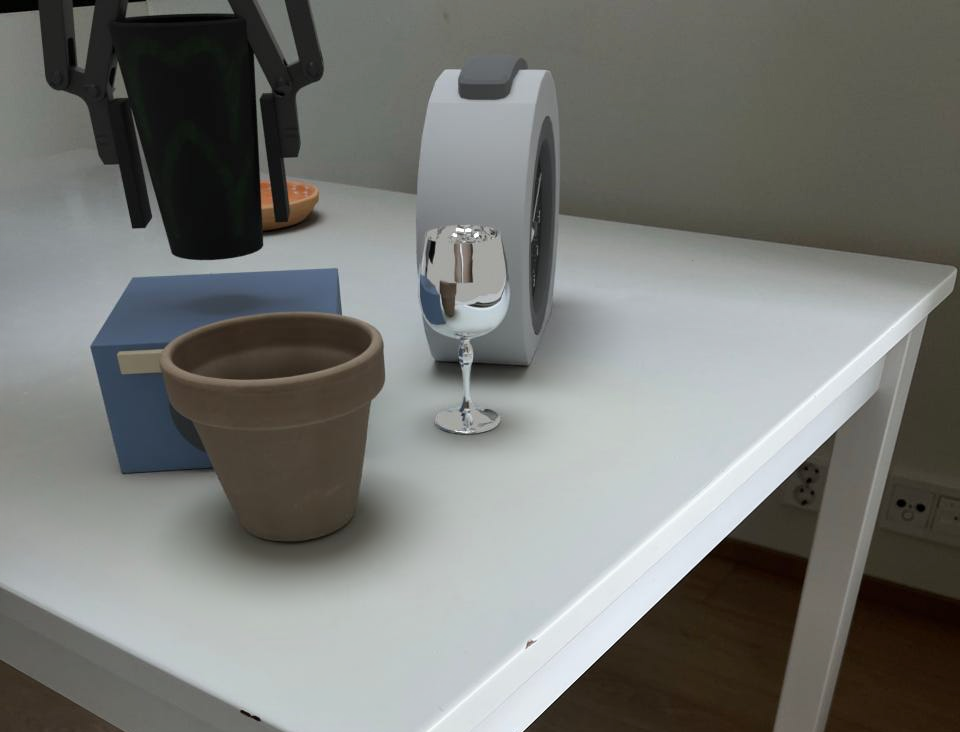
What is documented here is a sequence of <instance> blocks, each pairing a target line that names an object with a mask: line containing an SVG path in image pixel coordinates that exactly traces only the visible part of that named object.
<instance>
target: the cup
mask: <svg viewBox="0 0 960 732" xmlns="http://www.w3.org/2000/svg"><path fill="white" fill-rule="evenodd" d="M108 27H109V31H110V34H111V38H112V41H113V45H114V49H115V52H116V56H117V59H118V67H119V71H120V74H121V77H122V80H123V84H124V88H125V91H126V95H127V98H128V99H129V102H130V106H131V111H132V116H133V121H134V125H135V128H136V130H137V134H138V137H139V138H138V139H139V141H140V145H141V148H142V152H143V155H144V160H145V162H146V166H147V167H146V168H147V170H148V173H149V177H150V181H151V184H152V188H153V192H154V195H155V199H156V202H157V206H158V210H159V213H160V217H161V220H162V224H163V227H164V230H165V234H166V237H167V241H168V245H169V248H170V253H171V255H172V256H174V257H176V258H179V259H183V260H191V261H219V260H221V261H222V260H228V259H235V258H240V257H245V256H248V255H252V254H254V253H257V252H258V251H260V250H262V249H263V247H264V231H263V227H262V206H261V186H260V180H261V171H260V170H261V168H260V149H259V148H260V147H259V130H258V128H259V126H258V106H257V88H256V67H255V66H256V65H255V54H254V52H253V50H252V48H251V46H250V44H249V42H248V40H247V27H246V20H245V19H244V18H236V16H235V14H234V13H227V12H226V13H223V12H221V13H218V12H216V13H215V12H214V13H213V12H207V13H202V12H201V13H171V14H152V15H139V16H138V15H137V16H126V17H125V23H119V22H109V23H108Z"/></svg>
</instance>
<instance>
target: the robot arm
mask: <svg viewBox="0 0 960 732" xmlns="http://www.w3.org/2000/svg"><path fill="white" fill-rule="evenodd" d="M227 2H228V4H229V6H230V8H231V10H232V12H233V14H235V16H236V18H244V19H245V20H246V27H247V40H248V42H249V44H250V46H251V48H252V50H253V52H254V57H255V59H256V60H257V62H258V64H259V66H260V69H261V70H262V72H263V74H264V76H265V79H266V80H267V82H268V85H269V87H270V89H271V92H262V93H261V95H260V98H259V107H260V114H261V122H262V129H263V130H262V131H263V137H264V146H265V153H266V154H265V155H266V161H267V170H268V176H269V180H270V185H271V193H272V200H273V208H274V216H275V222H288V220H289V215H290V207H289V198H288V190H287V182H286V181H287V175H286V173H287V172H286V167H285V166H286V165H285V159H290V158H298V157H299V154H300V150H301V145H302V141H301V133H300V121H299V113H298V102H297V94H298V92H299V91H300V90H301V89H303V88H305V87H308V86H309V85H312V84H313V83H318V82H319V81H321V79H322V78H323V75H324V72H325V61H324V57H323V52H322V49H321V44H320V39H319V37H318V36H319V35H318V31H317V26H316V23H315V18H314V13H313V9H312V4H311V1H310V0H284V4H285V8H286V12H287V17H288V20H289V24H290V29H291V33H292V37H293V41H294V44H295V48H296V53H297V58H298V59H297V60H295V61H293V62H291V63H288V61H287V60H286V57H285V55H284V53H283V51H282V49H281V46H280V45H279V42H278V40H277V39H276V36H275V35H274V32H273V30H272V28H271V26H270V24H269V22H268V20H267V17H266V15H265V13H264V12H263V10H262V8H261V5H260V3H259V2H258V0H227ZM128 4H129V0H95V2H94V8H93V15H92V21H91V26H90V27H91V28H90V33H89V40H88V47H87V52H86V60H85V67H84V68H83V67H81V66H78V55H77V43H76V28H75V18H74V16H75V15H74V3H73V0H37V5H38V16H39V26H40V35H41V36H40V37H41V47H42V48H41V49H42V57H43V58H42V59H43V67H44V77H45V81H46V83H47V84H48V86H49V87H50V88H51V89H53V90H55V91H58V92H59V91H60V92H61V91H63V92H66V93H68V94H71V95H74V96H77V97H79V98H80V99H81V100H82V101H83V102H84V103H85V104H86V106H87V109H88V113H89V118H90V123H91V127H92V131H93V136H94V140H95V145H96V151H97V155H98V157H99V159H100V160H101V162H102V164H103V165H104V166H112V165H118V166H119V167H118V168H119V172H120V177H121V181H122V187H123V191H124V196H125V202H126V204H127V205H126V206H127V210H128V215H129V220H130V225H131V228H132V230H135V229H136V230H137V229H146V228H147V227H148V225H149V223H150V222H151V221H152V219H153V214H152V209H151V203H150V199H149V193H148V188H147V183H146V177H145V172H144V167H143V163H142V157H141V152H140V149H139V148H140V146H139V142H138V137H137V132H136V125H135V120H134V117H133V113H132V109H131V106H130V102H129V99H128V97H114V92H115V91H116V87H115V81H116V76H117V69H118V66H119V63H118V59H117V56H116V52H115V49H114V45H113V41H112V38H111V34H110V31H109V27H108V23H109V22H119V23H125V18H126V17H127V11H128V6H129V5H128Z"/></svg>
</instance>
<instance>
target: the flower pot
mask: <svg viewBox="0 0 960 732" xmlns="http://www.w3.org/2000/svg"><path fill="white" fill-rule="evenodd" d="M384 343H385V342H384V339H383V336H382V333H381V332H380V330H378V329H377V328H376V327H375V326H373V325H372V324H371V323H369V322H366V321H364V320H362V319H358V318H355V317H352V316H347V315H343V314H342V315H337V314H330V313H320V312H277V313H264V314H257V315H249V316H243V317H237V318H232V319H227V320H223V321H219V322H215V323H212V324H208V325H205V326H202V327H199V328H196V329H194V330H192V331H189V332H187V333H185V334H183V335H181V336H179V337H177V338H176V339H174V340H173V341H171V342H170V343H169V344H168V345H167V346H166V347H165V348H164V349H163V351H162V352H161V354H160V358H159V364H160V369H161V371H162V373H163V378H164V382H165V386H166V390H167V393H168V397H169V400H170V403H171V405H172V406H173V407H174V409H175V410H176V411H178V412H179V413H180V414H181V415H183V416H184V417H186V418H188V419H190V420H192V422H193V424H194V426H195V428H196V430H197V432H198V434H199V436H200V438H201V440H202V443H203V445H204V447H205V449H206V452H207V454H208V456H209V459H210V461H211V463H212V465H213V468H212V469H213V470H214V472H215V475H216V476H217V479H218V482H219V484H220V486H221V488H222V490H223V492H224V494H225V496H226V498H227V500H228V502H229V504H230V507H231V508H232V510H233V512H234V514H235V516H236V517H237V519H238V521H239V523H240V525H241V526H242V528H243V529H245V531H246V532H248V533H249V534H251V535H253V536H255V537H258V538H260V539H262V540H263V539H264V540H267V541H274V542H302V541H308V540H313V539H317V538H321V537H324V536H327V535H330V534H332V533H334V532H336V531H338V530H340V529H341V528H343V527H344V526H345V525H347V523H349V522H350V521H351V519H352V518H353V517H354V514H355V513H356V508H357V504H358V499H359V494H360V487H361V483H362V482H361V481H362V476H363V471H364V470H363V469H364V462H365V454H366V446H367V445H366V444H367V437H368V436H367V435H368V427H369V419H370V411H371V405H372V401H373V400H374V399H375V398H376V397H377V396H378V395H379V394H380V393H381V391H382V390H383V388H384V385H385V382H386V366H385V365H386V364H385V353H384V352H385V351H384V348H385V345H384Z"/></svg>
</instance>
